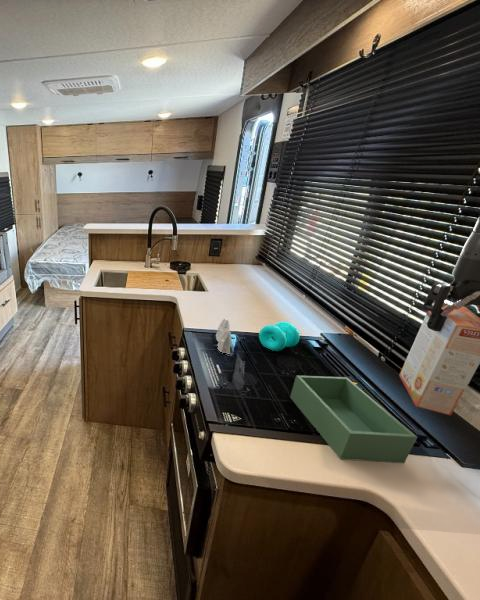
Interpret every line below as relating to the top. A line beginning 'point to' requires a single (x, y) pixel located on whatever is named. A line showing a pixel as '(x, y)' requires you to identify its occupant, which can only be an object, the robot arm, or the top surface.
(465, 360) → the cracker box
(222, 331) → the grey jagged slab
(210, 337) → the top surface
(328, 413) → the tote
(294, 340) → the donuts
